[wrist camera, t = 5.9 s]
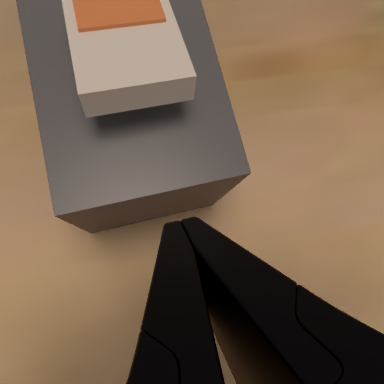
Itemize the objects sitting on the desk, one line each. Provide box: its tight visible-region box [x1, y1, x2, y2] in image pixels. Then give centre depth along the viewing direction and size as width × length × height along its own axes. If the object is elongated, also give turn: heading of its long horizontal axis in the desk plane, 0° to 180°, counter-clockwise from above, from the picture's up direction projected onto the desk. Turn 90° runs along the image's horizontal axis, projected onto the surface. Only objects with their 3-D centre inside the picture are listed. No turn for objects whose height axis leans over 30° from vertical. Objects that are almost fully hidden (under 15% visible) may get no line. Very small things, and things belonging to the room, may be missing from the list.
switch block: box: [16, 0, 251, 233], centre depth 18 cm, size 20×8×8 cm, turn 14°
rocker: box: [62, 0, 197, 118], centre depth 12 cm, size 5×4×1 cm
